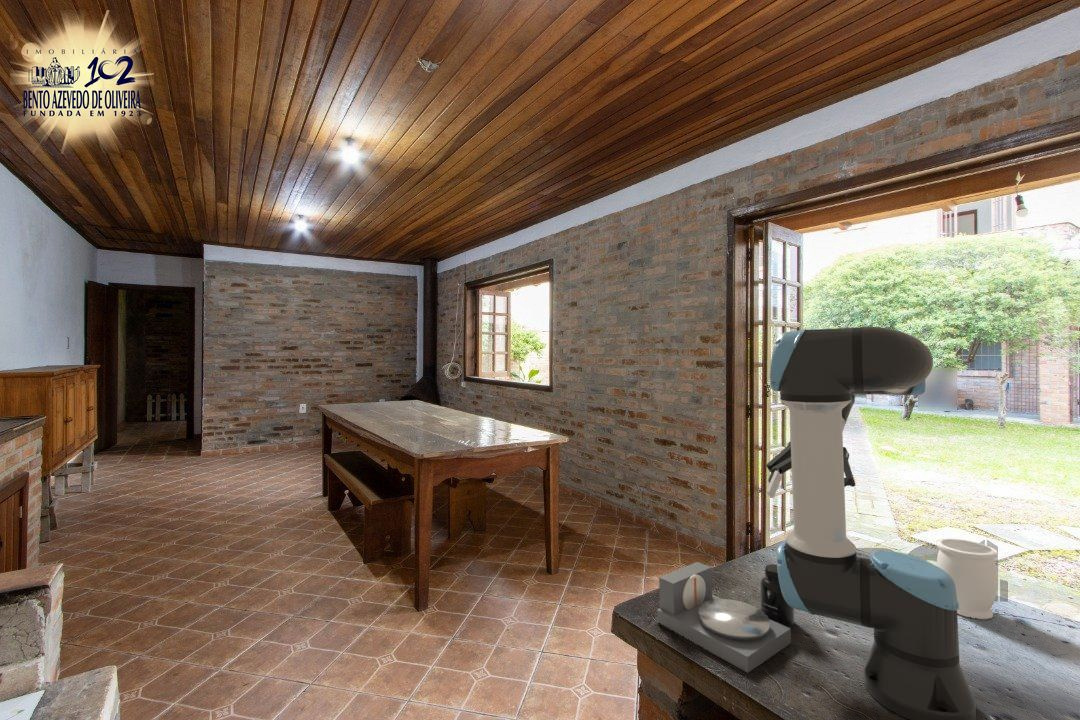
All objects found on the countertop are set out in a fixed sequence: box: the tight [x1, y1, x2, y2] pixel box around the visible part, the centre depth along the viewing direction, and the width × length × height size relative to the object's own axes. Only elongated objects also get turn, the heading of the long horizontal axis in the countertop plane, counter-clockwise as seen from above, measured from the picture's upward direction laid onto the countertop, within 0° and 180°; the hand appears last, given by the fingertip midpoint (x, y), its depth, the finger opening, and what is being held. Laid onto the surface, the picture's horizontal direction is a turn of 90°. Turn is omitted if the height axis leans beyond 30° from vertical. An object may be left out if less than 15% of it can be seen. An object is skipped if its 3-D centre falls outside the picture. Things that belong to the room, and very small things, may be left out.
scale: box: [656, 561, 792, 674], centre depth 102 cm, size 22×16×10 cm
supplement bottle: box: [759, 563, 795, 628], centre depth 106 cm, size 7×7×12 cm
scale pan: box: [699, 598, 770, 640], centre depth 100 cm, size 14×14×1 cm
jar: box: [936, 538, 999, 620], centre depth 109 cm, size 11×10×15 cm
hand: (797, 500), depth 113 cm, fingers open, 13 cm apart
